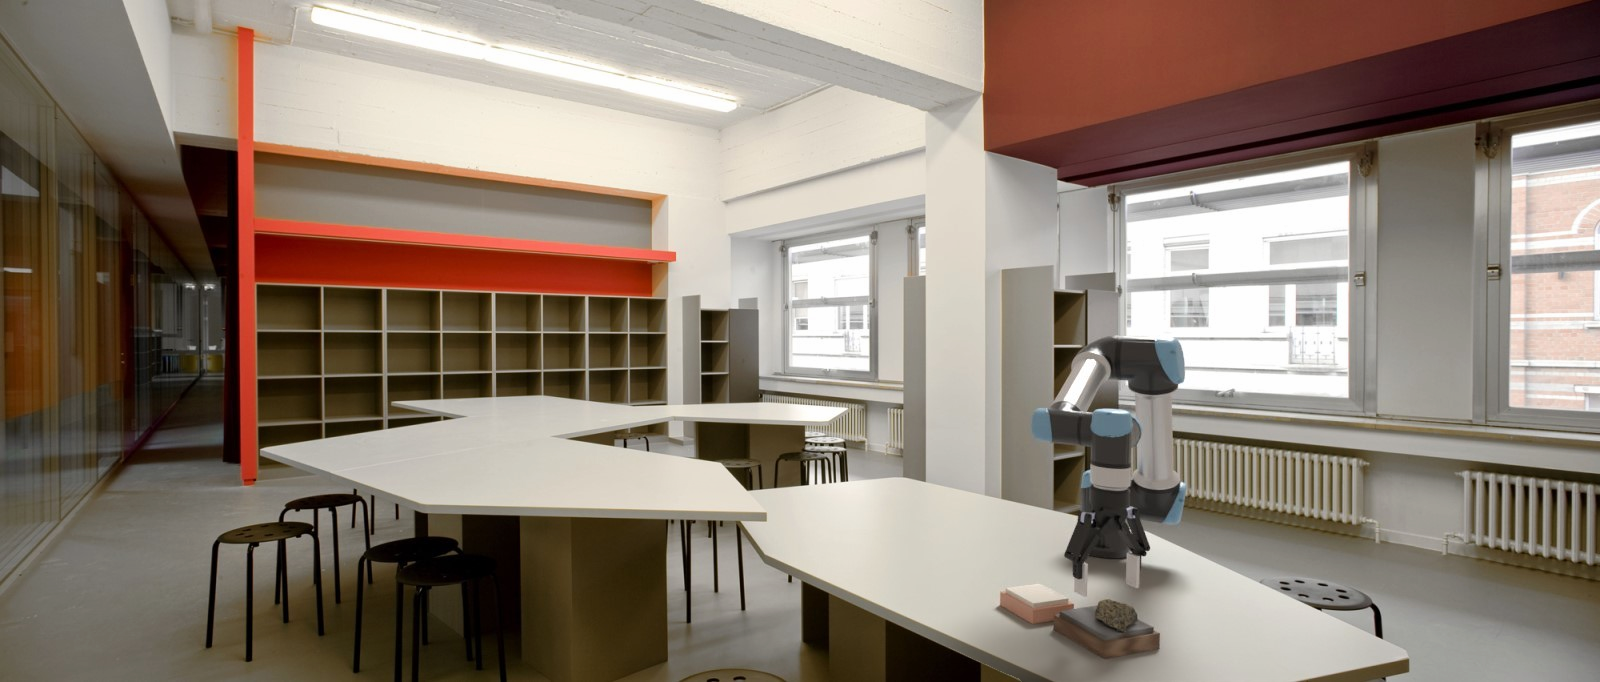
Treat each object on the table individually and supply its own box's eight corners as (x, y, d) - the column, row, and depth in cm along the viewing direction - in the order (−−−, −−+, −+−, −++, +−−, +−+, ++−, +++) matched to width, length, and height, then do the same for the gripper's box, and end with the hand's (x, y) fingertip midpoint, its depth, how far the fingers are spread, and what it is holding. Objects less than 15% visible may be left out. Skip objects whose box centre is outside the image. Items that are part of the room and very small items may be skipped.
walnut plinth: (1105, 620, 154) (1105, 602, 153) (1159, 648, 140) (1160, 628, 140) (1053, 629, 148) (1054, 610, 148) (1104, 658, 135) (1105, 637, 135)
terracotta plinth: (1039, 599, 165) (1039, 581, 165) (1073, 617, 155) (1074, 599, 155) (1000, 604, 161) (1000, 587, 161) (1032, 624, 151) (1033, 605, 151)
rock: (1087, 623, 142) (1087, 600, 142) (1102, 612, 148) (1103, 590, 148) (1124, 634, 137) (1124, 611, 137) (1138, 623, 143) (1139, 600, 143)
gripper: (1141, 477, 152) (1138, 576, 153) (1047, 486, 143) (1044, 590, 144) (1171, 485, 145) (1168, 588, 146) (1074, 495, 136) (1071, 605, 137)
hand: (1106, 589), depth 145 cm, fingers open, 13 cm apart
